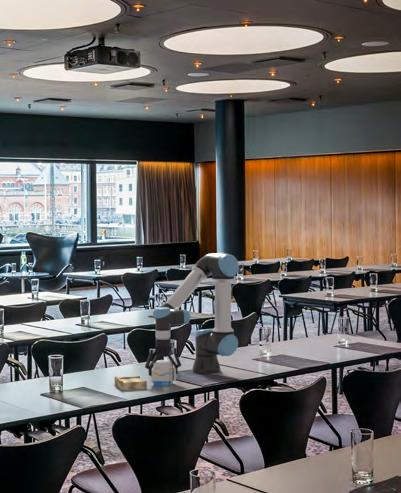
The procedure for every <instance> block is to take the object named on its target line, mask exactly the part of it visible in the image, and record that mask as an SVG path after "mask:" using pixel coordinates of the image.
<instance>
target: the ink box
mask: <svg viewBox="0 0 401 493" xmlns="http://www.w3.org/2000/svg"><path fill="white" fill-rule="evenodd" d="M173 367H174V365H173V363H172V362H171V361H170V360H165V359H163V360H162V359H161V360H157V361H156V363H154V366H153V386H155V387H170V386H171V385H172V384H174V381H173Z"/></svg>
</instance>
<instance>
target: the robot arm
mask: <svg viewBox="0 0 401 493" xmlns="http://www.w3.org/2000/svg"><path fill="white" fill-rule="evenodd" d="M239 267H240V266H239V261H238V259H237V258H236V257H235V255H232V254H229V253H217V252H211V253H208V254H205V255H204V256H203V257H201V258H199V260H198V261H197V262H196V263H195V264H194V265H193V266H192V267H191V272H189V273H188V275H187V276H186V277H185V279H184V280H183V281H182V282H181V283H180V284H179V286H178V287H177V288H176V289H175V291H173V292H172V294H171V295H170V296H169V298H168V299H166V301H165V302H164V303H163V304H162V306H158V307H155V308H154V310H153V311H152V317H153V319H154V321H155V322H154V323H155V348H150V349H148V350H149V353H148V356H147V359H146V362H145V365H144V368H145V369H146V370H148V376H149V377H150V383H153V370H154V363H156V361H159V358H162V357H163V358H164V357H165V358H166V357H167V358H168V360H169V361H171V362H172V363H173V382H176V381H177V375H178V371H179V370H178V368H181V366H182V364H181V361H180V357H179V355H178V353H177V352H178V349H177V348H176V347H171V326H172V327H173V326H181V325H183V326H184V325H187V324H189V322H190V321H191V313H190V311H189V310H188V309H180V308H181V307H182V305H183V304H184V303H185V301H186V300H187V299H188V298H190V296H191V295H192V293H193V292H194V291H195V290H196V289H197V288H198V286H199V285H200V284H201V283H202V282H203V281H205V280H207V278H208V277H210V276H211V277H212V278H211V279H212V281H214V328H205V329H198V330H196V332H195V359H194V362H193V364H192V372H193V373H195V374H202V375H203V374H205V375H206V374H218V373H220V372H221V365H220V361H219V359H218V356H221V357H230V356H232V355H233V354H235V352H236V351H237V349H238V346H239V341H238V338H237V336H235V334H234V333H235V332H234V331H235V330H234V328H232V281H234V280H235V276H236V275H237V273H238V272H239V269H240V268H239ZM171 352H172V353H173V356H174V358H173V357H172V355H171ZM155 353H156V354H155ZM154 354H155V355H154ZM153 355H154V357H153ZM152 358H153V359H152Z"/></svg>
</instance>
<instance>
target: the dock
mask: <svg viewBox="0 0 401 493" xmlns="http://www.w3.org/2000/svg"><path fill="white" fill-rule="evenodd" d="M147 382H148V381H147V380H144V379H142V378H141V376H140V375H135V376H132V375H131V376H121V377H120V376H119V377H118V375H114V387H116V388H117V389H118V390H120V391H121V392H122V391H132V390H134V391H136V390H146V389H147V388H148V383H147Z"/></svg>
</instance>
